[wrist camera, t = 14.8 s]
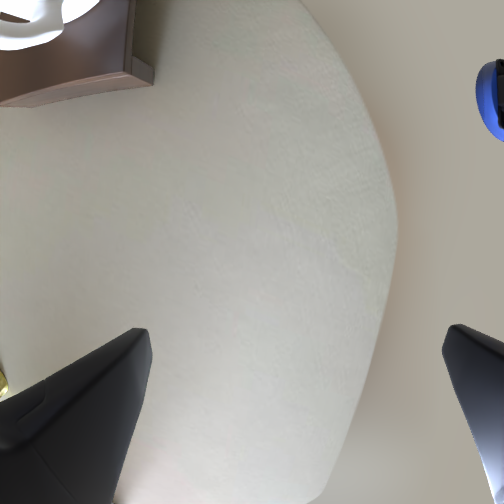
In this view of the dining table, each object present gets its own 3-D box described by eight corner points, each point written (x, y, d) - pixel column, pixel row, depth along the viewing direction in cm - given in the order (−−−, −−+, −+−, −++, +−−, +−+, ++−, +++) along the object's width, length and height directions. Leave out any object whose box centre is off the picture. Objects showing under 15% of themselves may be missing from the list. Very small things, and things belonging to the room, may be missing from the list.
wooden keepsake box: (163, -39, 14) (143, -74, 10) (153, 85, 18) (124, 72, 13) (45, -7, 14) (9, -25, 10) (32, 107, 18) (-12, 107, 13)
